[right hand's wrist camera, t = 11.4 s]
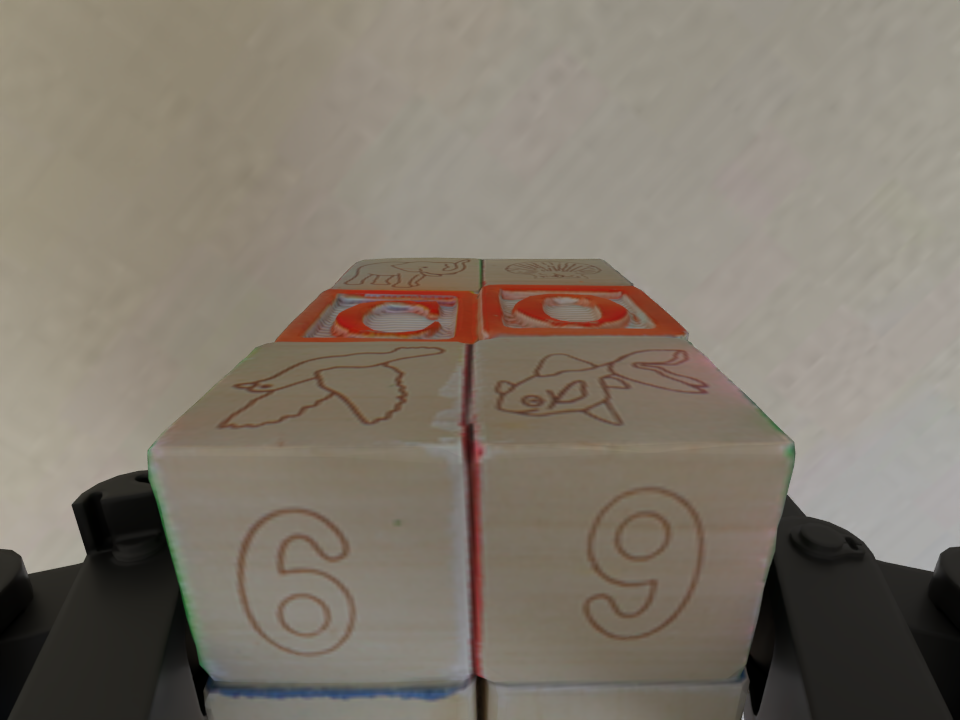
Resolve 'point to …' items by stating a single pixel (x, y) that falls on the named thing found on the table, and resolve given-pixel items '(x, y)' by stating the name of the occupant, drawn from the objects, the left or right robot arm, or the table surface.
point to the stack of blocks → (474, 505)
